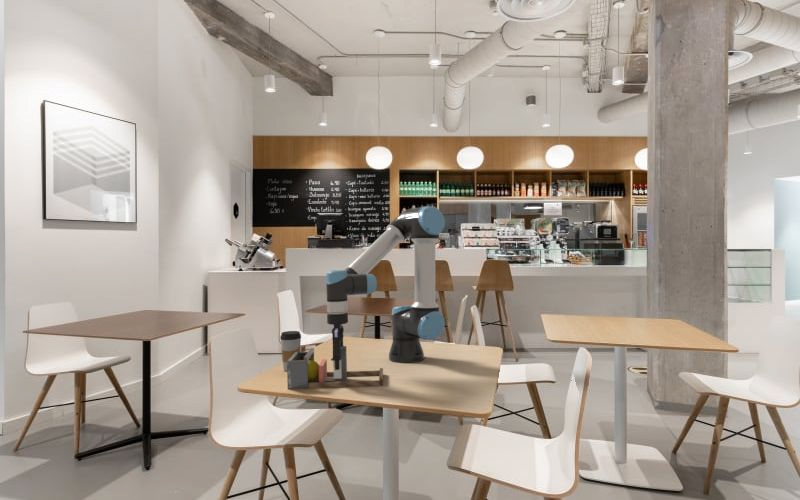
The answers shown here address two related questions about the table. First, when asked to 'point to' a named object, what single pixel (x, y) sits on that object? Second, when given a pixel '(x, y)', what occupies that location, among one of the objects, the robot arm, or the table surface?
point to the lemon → (313, 371)
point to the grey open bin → (299, 369)
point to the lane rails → (351, 383)
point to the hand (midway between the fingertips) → (338, 374)
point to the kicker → (323, 368)
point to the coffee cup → (289, 345)
